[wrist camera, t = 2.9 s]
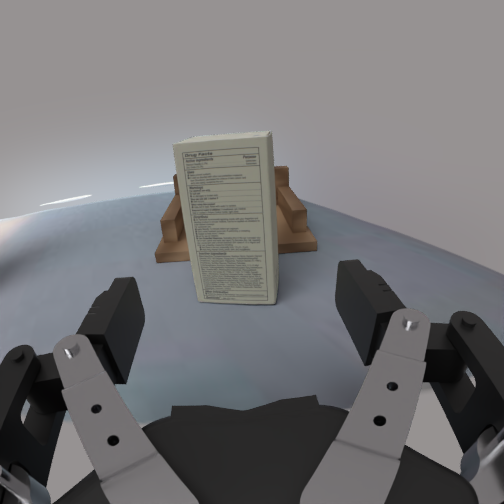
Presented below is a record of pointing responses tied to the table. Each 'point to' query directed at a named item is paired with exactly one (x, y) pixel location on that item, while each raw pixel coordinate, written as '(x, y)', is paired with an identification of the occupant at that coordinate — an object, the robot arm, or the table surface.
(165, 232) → the tray
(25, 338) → the table surface
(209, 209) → the skincare box
